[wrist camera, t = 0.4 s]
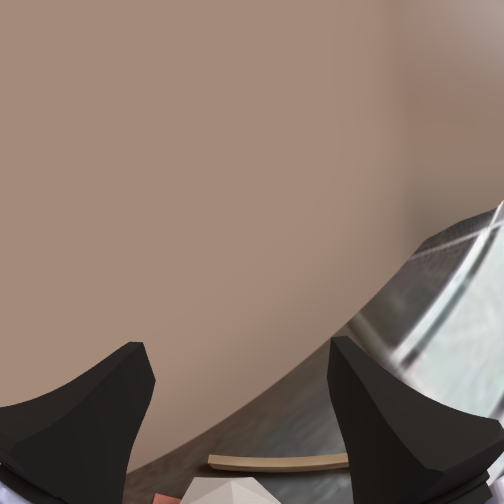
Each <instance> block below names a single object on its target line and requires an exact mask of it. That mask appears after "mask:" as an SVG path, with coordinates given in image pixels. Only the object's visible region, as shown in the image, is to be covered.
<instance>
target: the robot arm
mask: <svg viewBox="0 0 504 504" xmlns="http://www.w3.org/2000/svg"><path fill="white" fill-rule="evenodd" d="M155 381H156V380H155V377H154V374H153V371H152V368H151V365H150V363H149V360H148V357H147V354H146V351H145V347H144V344H143V342H128V343H127V344H125V345H124V346H122V347H121V348H119V349H118V350H116V351H115V352H113V353H112V354H111V355H109V356H108V357H107V358H105V359H104V360H102V361H101V362H100V363H98V364H97V365H96V366H94V367H92V368H91V369H89V370H88V371H87V372H85V373H83V374H82V375H80V376H79V377H77V378H76V379H74V380H73V381H71V382H69V383H67V384H66V385H64V386H62V387H60V388H58V389H56V390H54V391H52V392H50V393H47V394H45V395H42V396H40V397H37V398H35V399H32V400H29V401H26V402H23V403H19V404H16V405H11V406H6V407H0V463H1V465H0V504H122V498H123V489H124V482H125V477H126V471H127V466H128V462H129V458H130V453H131V450H132V447H133V443H134V441H135V438H136V436H137V433H138V431H139V428H140V426H141V424H142V421H143V419H144V416H145V413H146V411H147V409H148V406H149V404H150V401H151V398H152V394H153V389H154V385H155ZM327 381H328V387H329V392H330V398H331V402H332V405H333V408H334V411H335V414H336V418H337V421H338V424H339V427H340V430H341V433H342V437H343V440H344V443H345V447H346V451H347V456H348V462H349V468H350V475H351V482H352V490H353V501H354V504H504V475H503V476H502V477H501V478H499V479H498V480H496V481H495V482H494V483H492V484H491V485H490V486H489V487H488V485H487V483H486V481H487V480H488V479H489V477H490V475H489V473H488V471H487V469H488V468H489V467H490V466H491V465H492V464H493V463H494V462H495V461H496V460H497V459H498V458H499V456H500V455H501V454H502V453H503V452H504V429H503V427H502V426H501V424H500V423H499V421H498V420H495V419H490V418H485V417H480V416H476V415H472V414H468V413H465V412H462V411H459V410H456V409H453V408H451V407H448V406H446V405H443V404H441V403H439V402H437V401H434V400H432V399H430V398H428V397H426V396H424V395H422V394H421V393H419V392H417V391H416V390H414V389H412V388H411V387H409V386H407V385H406V384H404V383H403V382H401V381H400V380H398V379H397V378H396V377H394V376H393V375H392V374H390V373H389V372H388V371H386V370H385V369H384V368H382V367H381V366H380V365H379V364H378V363H376V362H375V361H374V360H373V359H372V358H371V357H370V356H368V355H367V354H366V353H365V352H364V351H363V350H362V349H361V348H360V347H359V346H357V345H356V344H355V343H354V342H353V341H352V340H351V339H350V338H349V337H348V336H341V337H332V338H331V345H330V355H329V364H328V372H327Z"/></svg>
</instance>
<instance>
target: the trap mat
mask: <svg viewBox="0 0 504 504" xmlns="http://www.w3.org/2000/svg"><path fill="white" fill-rule="evenodd" d="M180 502H181V499H177V498H172V497H168V496H164V495H160V494H157V493H156V494H155V498H154V501H153V504H180Z"/></svg>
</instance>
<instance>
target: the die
mask: <svg viewBox="0 0 504 504" xmlns="http://www.w3.org/2000/svg"><path fill="white" fill-rule="evenodd" d="M180 504H281V503H280V502H279V501H278V500H276V499H275V498H274V497H273V496H272V495H271V494H270V493H269V492H268V491H267V490H266V489H264V488H263V487H262V486H261V485H260V484H259V483H258V482H257V481H256V480H255V479H254V478H253V477H247V478H198V477H195V478H194V480H193V481H192V483H191V485H190V487H189V488H188V490H187V492H186V494H185V495H184V497H183V499H182V500H181V502H180Z"/></svg>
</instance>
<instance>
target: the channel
mask: <svg viewBox="0 0 504 504" xmlns="http://www.w3.org/2000/svg"><path fill="white" fill-rule="evenodd" d="M208 464H209V465H210V466H211V467H212V468H213V469H220V470H231V471H246V472H303V471H318V470H329V469H338V468H346V467H349V462H348V456H347V453H342V454H333V455H324V456H312V457H294V458H247V457H230V456H218V455H209V459H208Z"/></svg>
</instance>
